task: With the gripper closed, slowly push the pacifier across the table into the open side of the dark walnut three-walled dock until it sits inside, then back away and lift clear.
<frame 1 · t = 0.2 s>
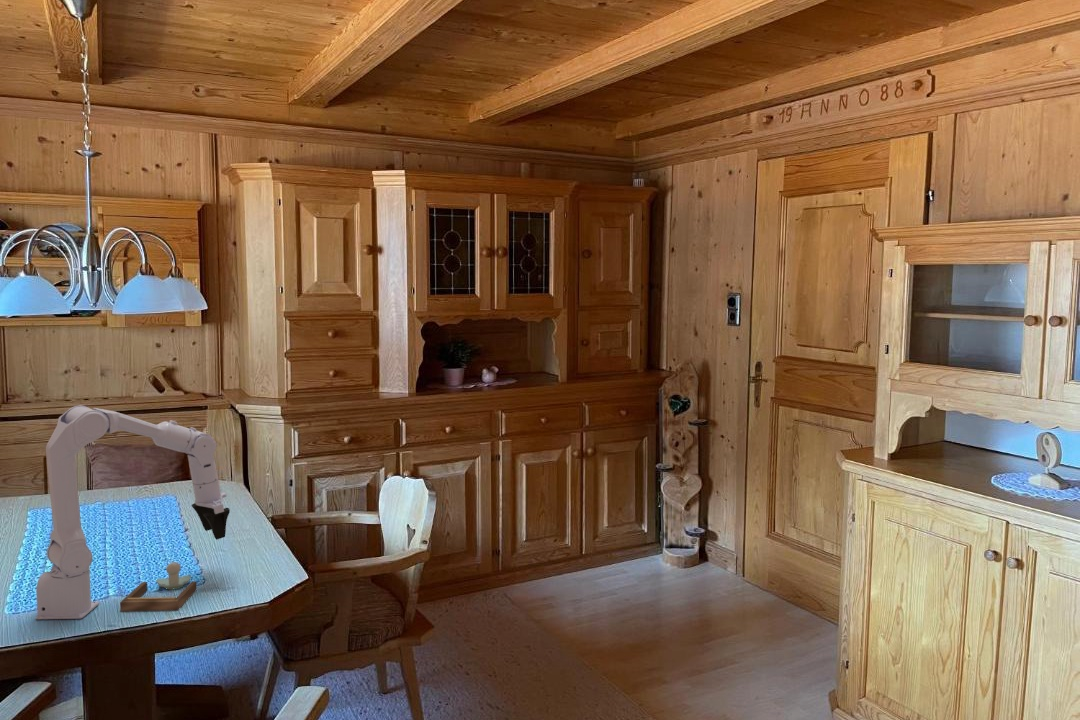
hand: (215, 533, 190), 10 cm above the table, tool pointing down, fingers open, 7 cm apart
pacifier: (174, 587, 184), on the table
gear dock: (160, 599, 176), on the table
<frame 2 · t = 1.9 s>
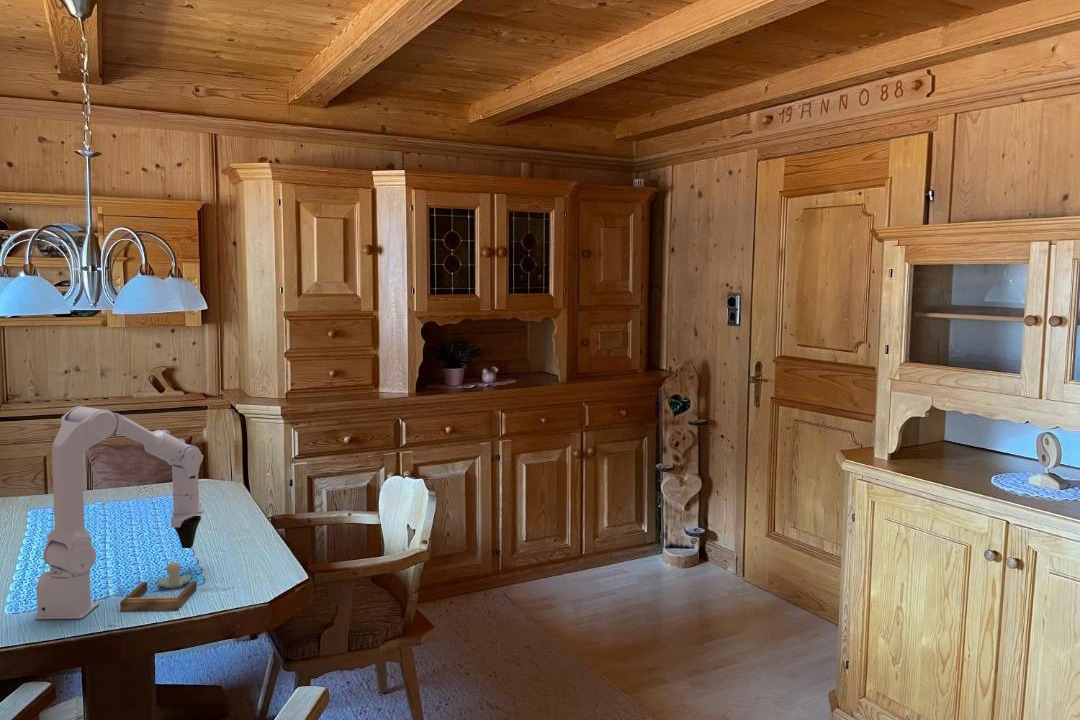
hand: (187, 547, 192), 6 cm above the table, tool pointing down, fingers closed
nothing on the table moved.
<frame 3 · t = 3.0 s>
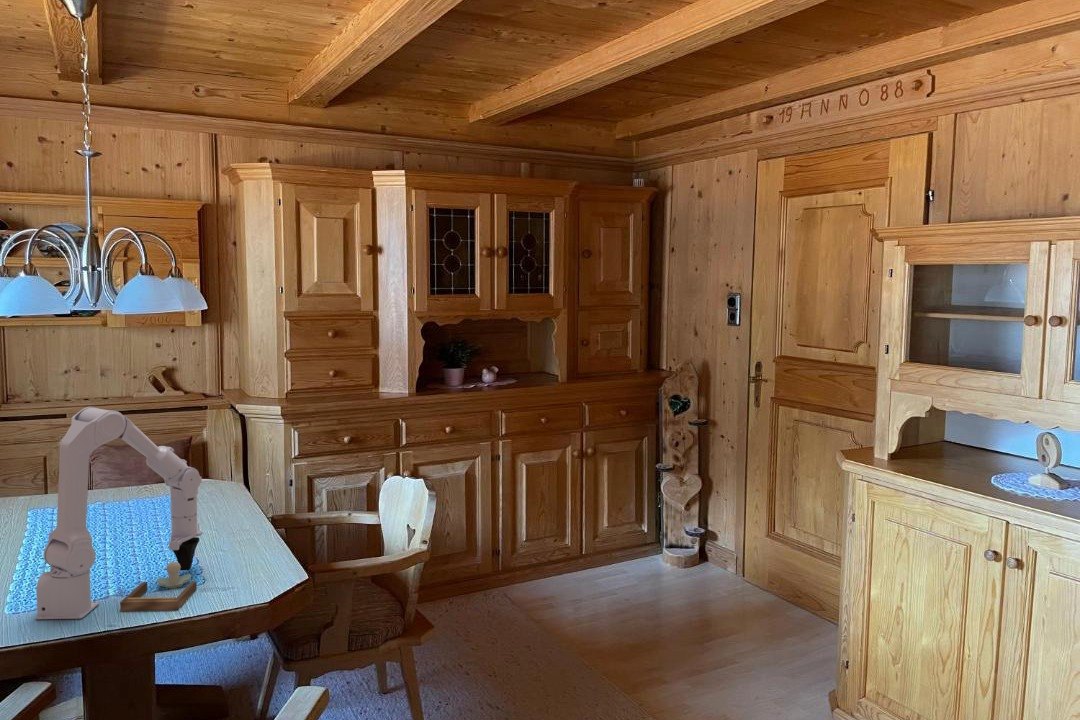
hand: (185, 569, 191), 1 cm above the table, tool pointing down, fingers closed
nothing on the table moved.
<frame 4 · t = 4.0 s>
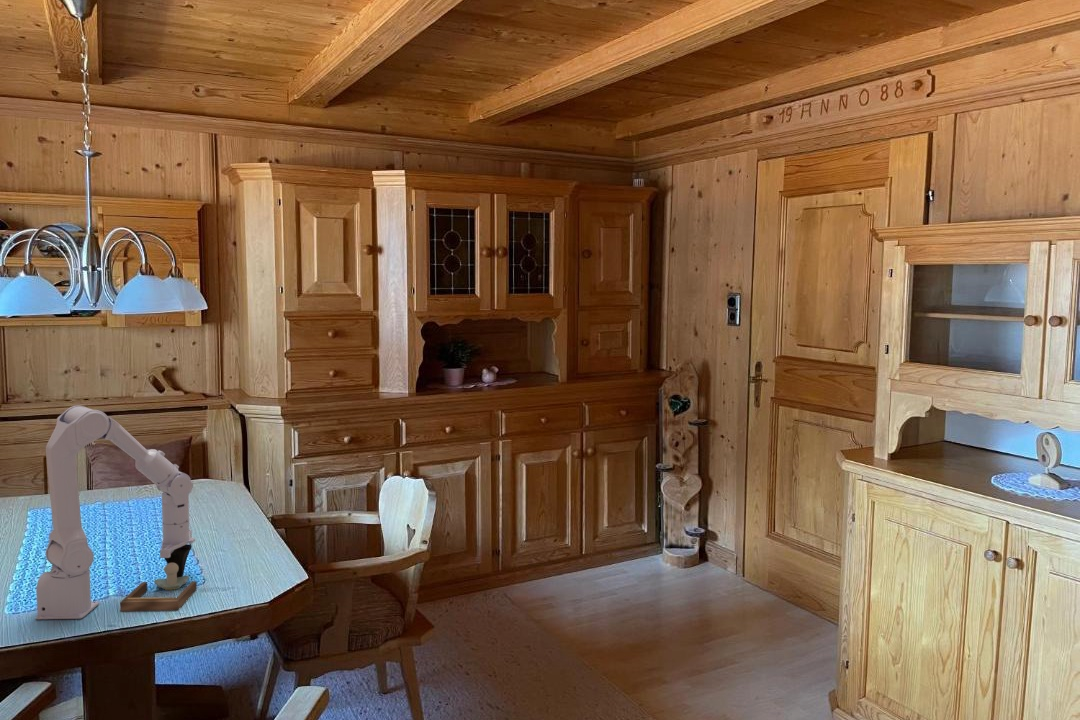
hand: (177, 577, 186), 1 cm above the table, tool pointing down, fingers closed
pacifier: (172, 587, 183), on the table, touching gripper
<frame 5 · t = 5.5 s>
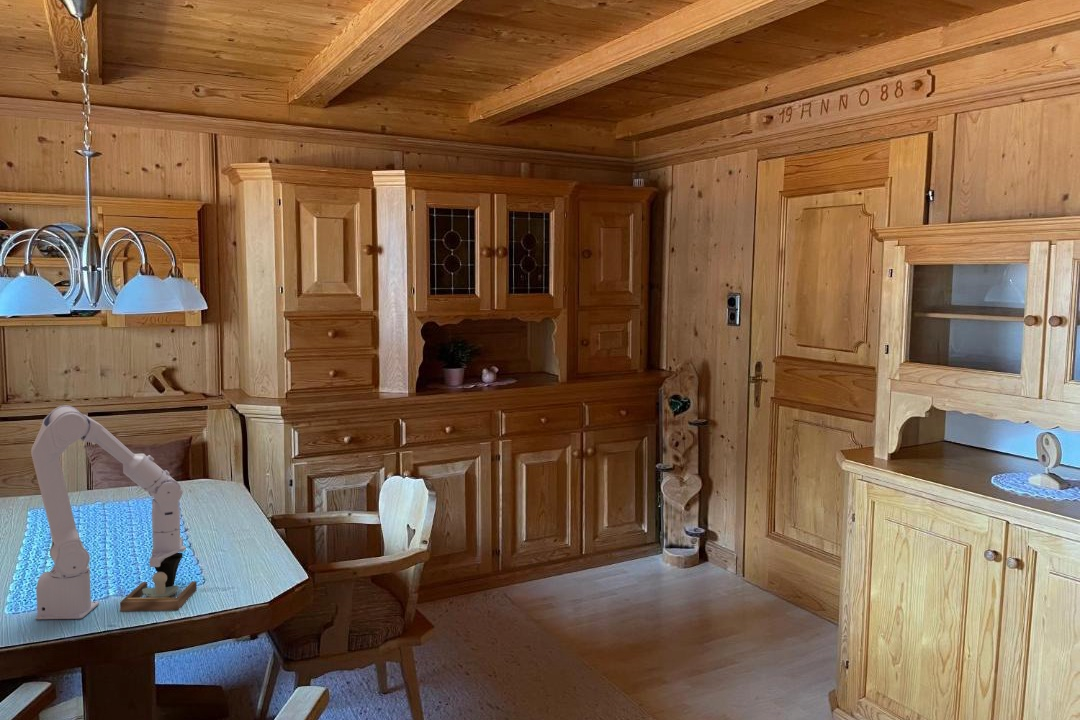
hand: (168, 586, 180), 1 cm above the table, tool pointing down, fingers closed
pacifier: (161, 597, 178), on the table, touching gripper
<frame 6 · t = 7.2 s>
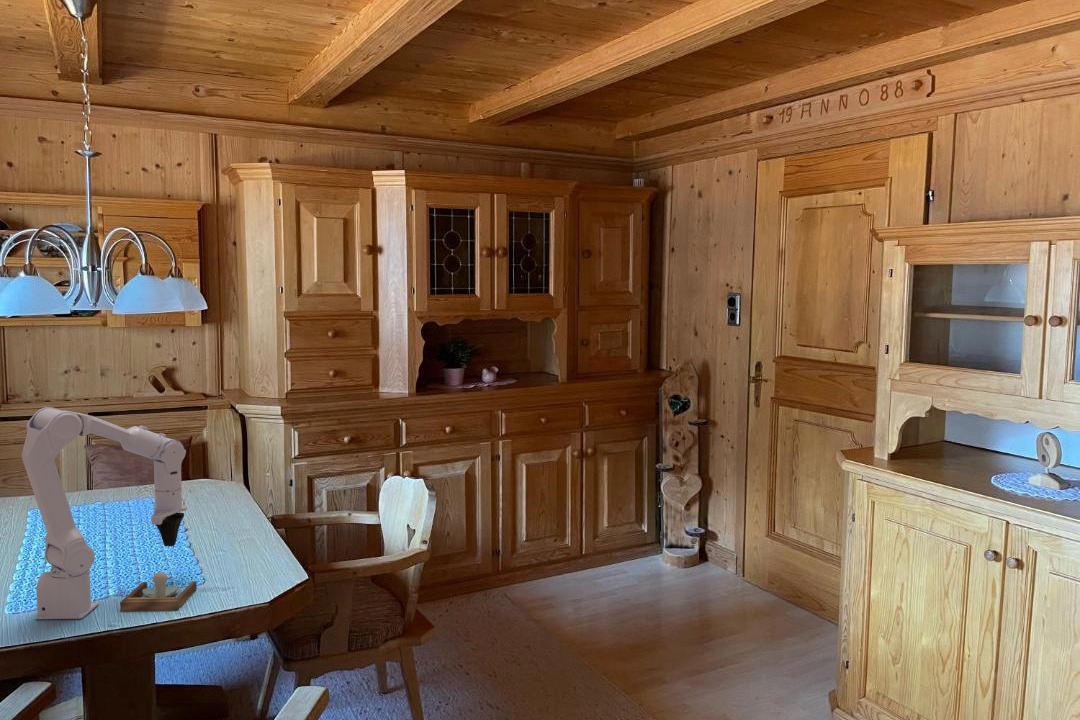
hand: (169, 545, 185), 9 cm above the table, tool pointing down, fingers closed
pacifier: (161, 597, 178), on the table
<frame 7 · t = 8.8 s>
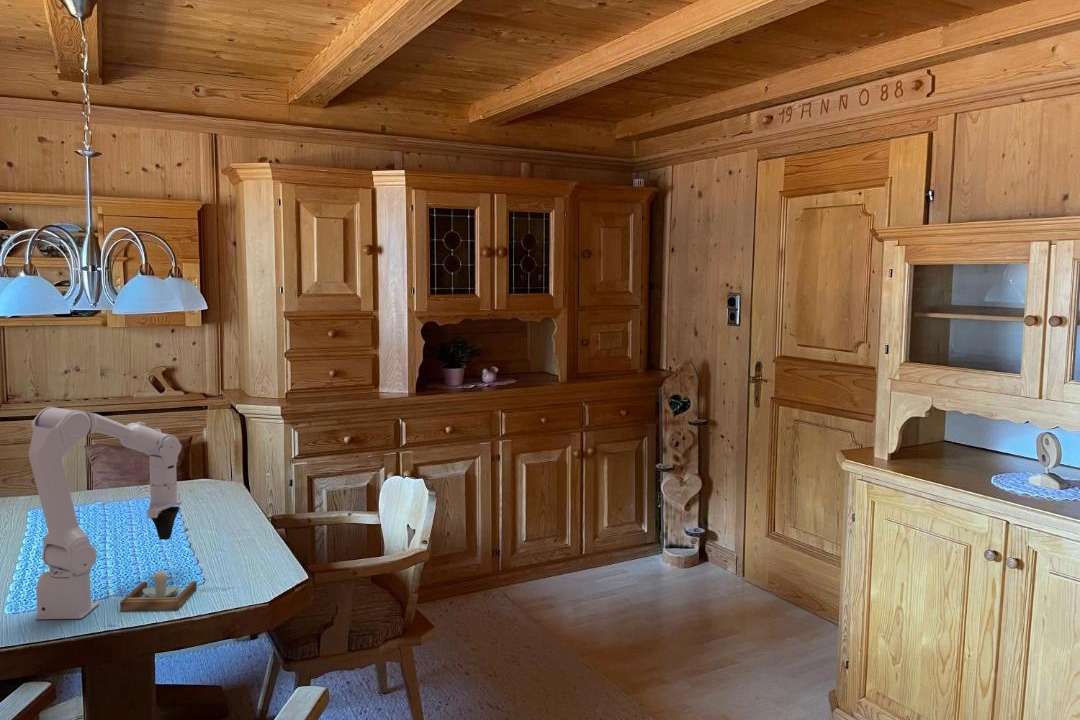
hand: (165, 538, 189), 9 cm above the table, tool pointing down, fingers closed
nothing on the table moved.
at the end: pacifier 1.8 cm off-centre on the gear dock, point 0.0 cm above the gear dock's base; pacifier moved 5.8 cm from its start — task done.
